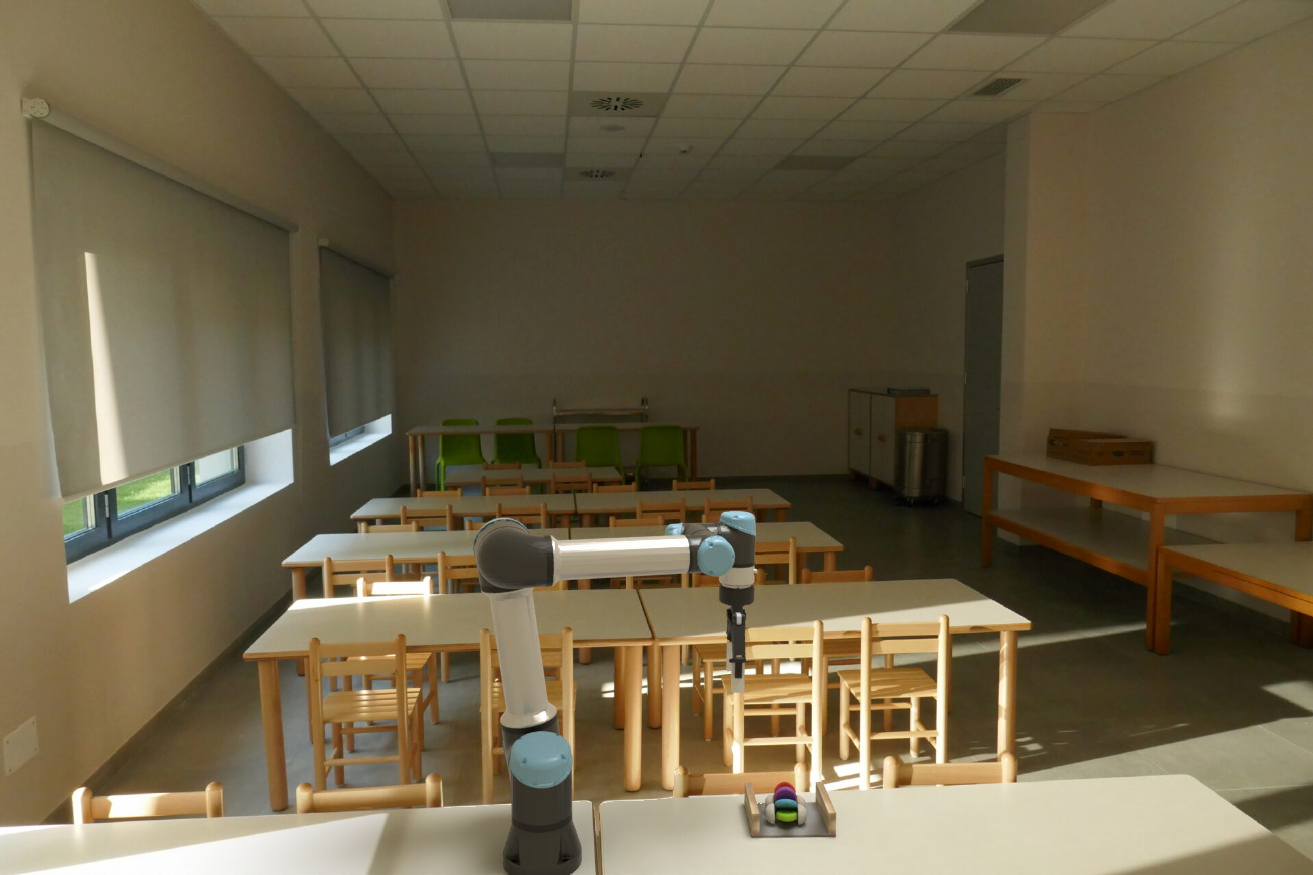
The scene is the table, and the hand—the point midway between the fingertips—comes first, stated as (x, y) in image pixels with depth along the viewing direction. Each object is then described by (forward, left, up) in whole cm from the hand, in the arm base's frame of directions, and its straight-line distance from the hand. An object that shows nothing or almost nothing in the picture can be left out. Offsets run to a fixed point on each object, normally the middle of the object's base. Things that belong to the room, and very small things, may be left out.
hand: (734, 681), depth 202 cm
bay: (+11, -8, -27) cm, 30 cm away
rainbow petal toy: (+10, -8, -27) cm, 30 cm away
